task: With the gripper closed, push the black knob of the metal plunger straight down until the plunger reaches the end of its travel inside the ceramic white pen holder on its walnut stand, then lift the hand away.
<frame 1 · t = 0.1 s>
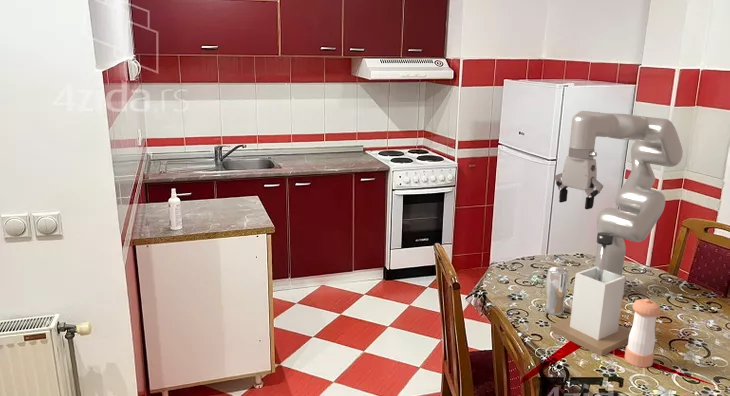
hand: (575, 205, 181), 37 cm above the table, tool pointing down, fingers open, 9 cm apart
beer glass: (554, 311, 188), on the table
white pen holder: (592, 334, 173), on the table
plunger: (601, 266, 167), point 23 cm above the table, slide at 0.0 cm
salt shaker: (638, 361, 159), on the table
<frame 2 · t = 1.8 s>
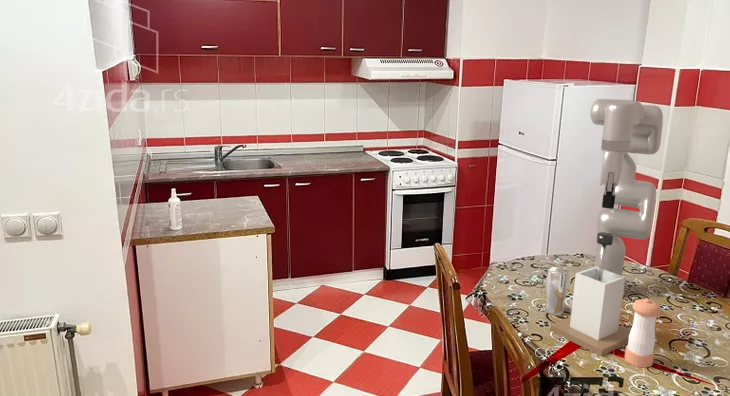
hand: (607, 207, 163), 41 cm above the table, tool pointing down, fingers closed
nothing on the table moved.
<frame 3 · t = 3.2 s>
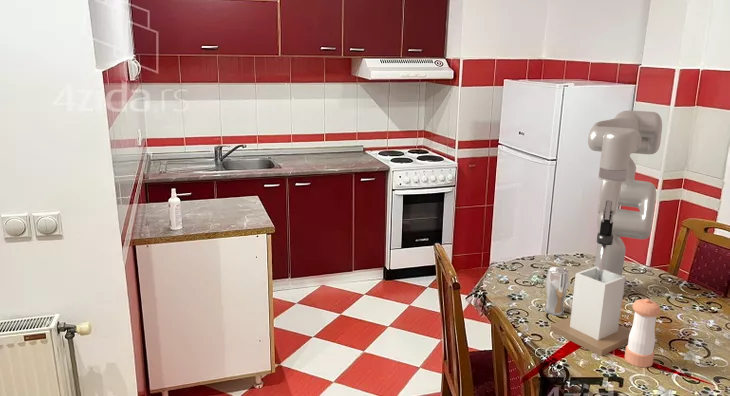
hand: (605, 234, 164), 33 cm above the table, tool pointing down, fingers closed
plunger: (601, 266, 167), point 23 cm above the table, slide at 0.0 cm, touching gripper
everything else where it was.
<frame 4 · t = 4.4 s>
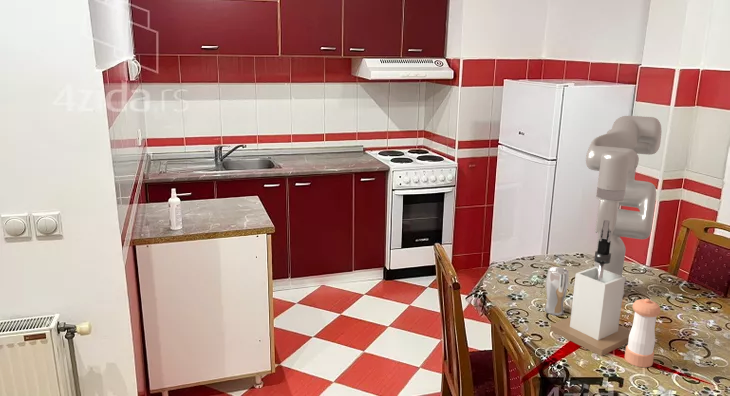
hand: (603, 253, 165), 27 cm above the table, tool pointing down, fingers closed
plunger: (599, 284, 168), point 17 cm above the table, slide at 5.9 cm, touching gripper
everything else where it was.
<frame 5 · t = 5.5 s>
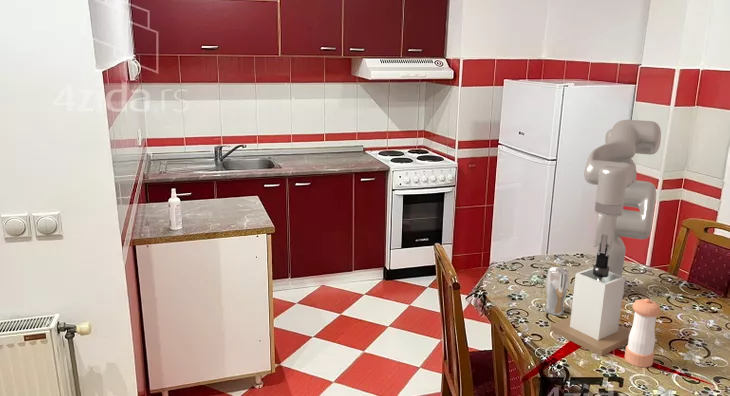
hand: (601, 266, 166), 23 cm above the table, tool pointing down, fingers closed
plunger: (597, 297, 169), point 13 cm above the table, slide at 10.2 cm, touching gripper
everything else where it was.
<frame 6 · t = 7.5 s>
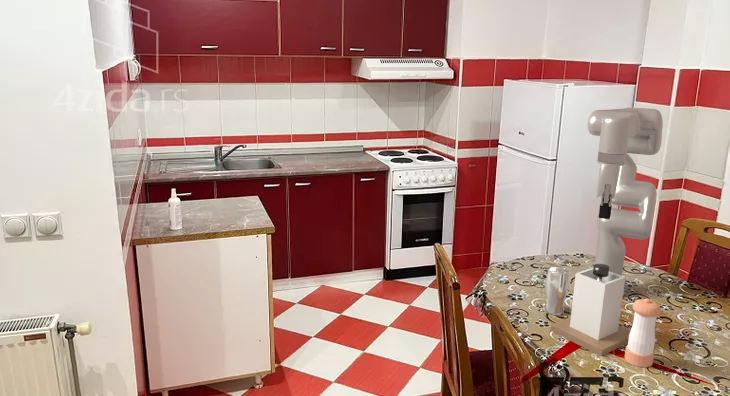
hand: (604, 217, 166), 37 cm above the table, tool pointing down, fingers closed
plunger: (597, 296, 169), point 13 cm above the table, slide at 10.1 cm
everything else where it was.
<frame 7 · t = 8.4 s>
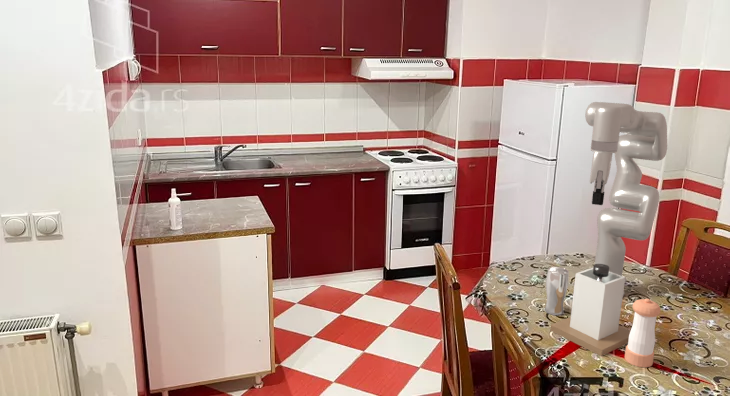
hand: (597, 203, 174), 39 cm above the table, tool pointing down, fingers closed
nothing on the table moved.
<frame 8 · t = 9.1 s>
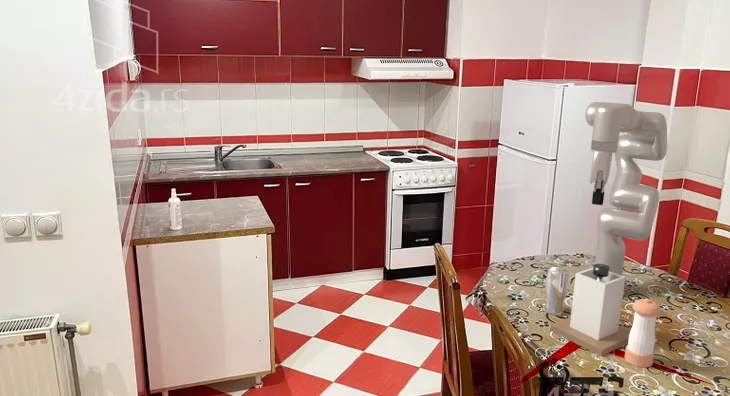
hand: (597, 203, 174), 39 cm above the table, tool pointing down, fingers closed
nothing on the table moved.
at the end: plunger slide at 10.1 cm; salt shaker moved 0.2 cm from its start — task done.
